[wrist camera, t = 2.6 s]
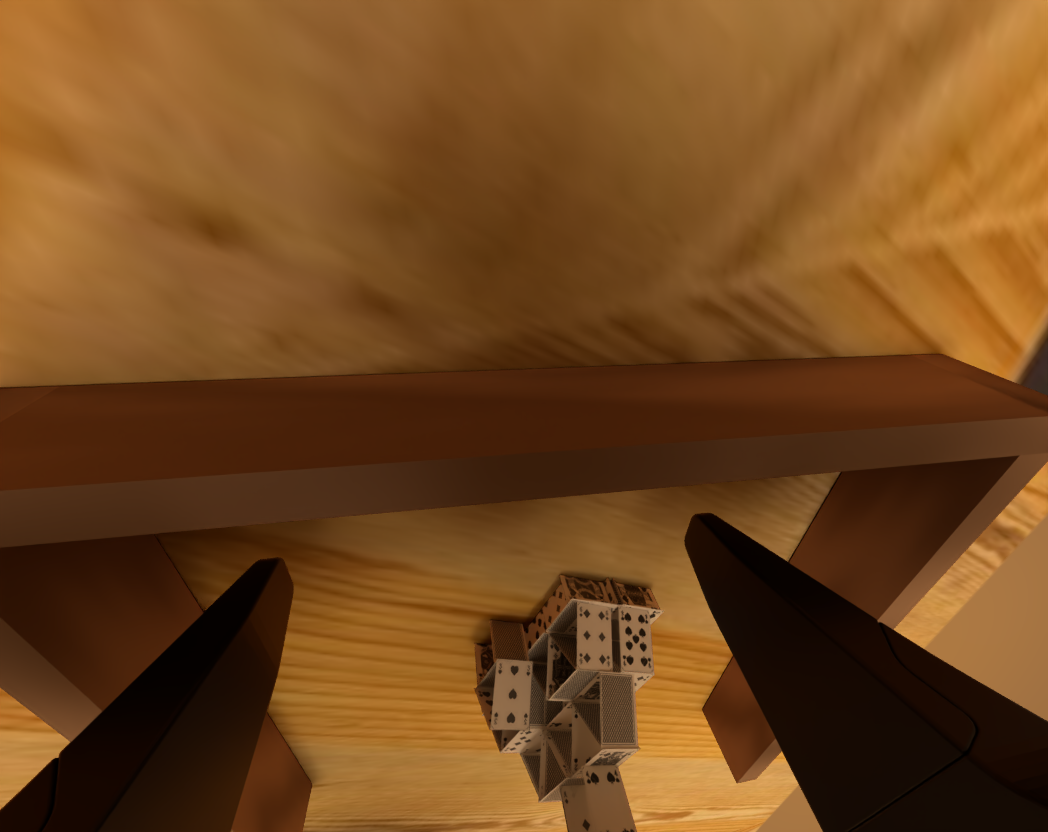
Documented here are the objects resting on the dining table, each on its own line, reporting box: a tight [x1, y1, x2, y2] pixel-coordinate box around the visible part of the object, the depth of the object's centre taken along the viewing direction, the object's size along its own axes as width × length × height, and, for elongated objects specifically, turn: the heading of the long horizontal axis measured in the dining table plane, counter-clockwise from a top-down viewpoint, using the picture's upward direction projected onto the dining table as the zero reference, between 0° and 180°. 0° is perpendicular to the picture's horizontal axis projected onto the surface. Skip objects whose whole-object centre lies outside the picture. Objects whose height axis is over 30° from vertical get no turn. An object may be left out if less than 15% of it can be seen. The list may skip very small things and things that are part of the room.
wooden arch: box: [0, 354, 1048, 832], centre depth 13 cm, size 20×21×3 cm
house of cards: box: [474, 575, 664, 832], centre depth 11 cm, size 9×9×8 cm
